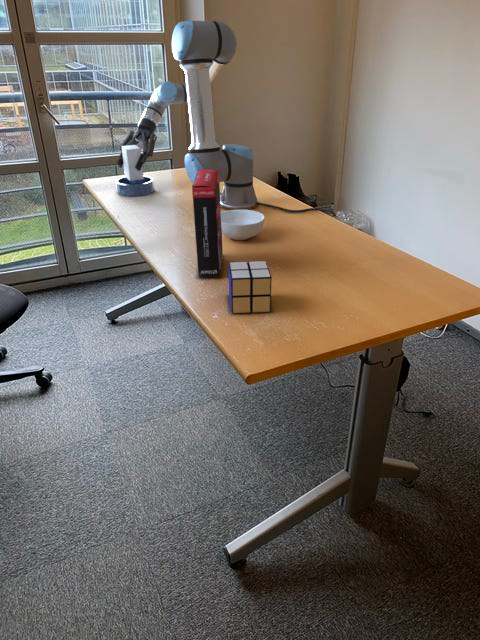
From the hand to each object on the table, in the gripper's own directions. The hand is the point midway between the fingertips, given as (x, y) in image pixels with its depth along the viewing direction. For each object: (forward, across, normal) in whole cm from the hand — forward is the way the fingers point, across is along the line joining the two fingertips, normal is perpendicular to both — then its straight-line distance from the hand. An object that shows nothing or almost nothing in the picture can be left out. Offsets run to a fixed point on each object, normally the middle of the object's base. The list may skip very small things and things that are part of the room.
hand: (128, 167), depth 214 cm
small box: (+2, 0, -6) cm, 6 cm away
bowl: (+6, 0, -10) cm, 11 cm away
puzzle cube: (+49, -96, +34) cm, 113 cm away
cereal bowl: (+21, -68, +5) cm, 71 cm away
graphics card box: (+39, -74, +24) cm, 87 cm away
